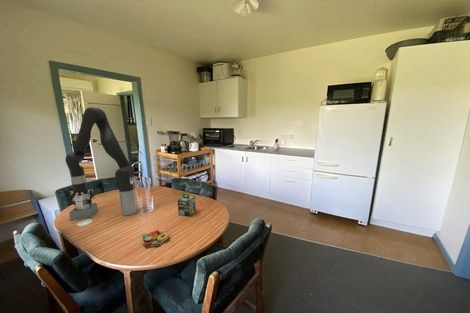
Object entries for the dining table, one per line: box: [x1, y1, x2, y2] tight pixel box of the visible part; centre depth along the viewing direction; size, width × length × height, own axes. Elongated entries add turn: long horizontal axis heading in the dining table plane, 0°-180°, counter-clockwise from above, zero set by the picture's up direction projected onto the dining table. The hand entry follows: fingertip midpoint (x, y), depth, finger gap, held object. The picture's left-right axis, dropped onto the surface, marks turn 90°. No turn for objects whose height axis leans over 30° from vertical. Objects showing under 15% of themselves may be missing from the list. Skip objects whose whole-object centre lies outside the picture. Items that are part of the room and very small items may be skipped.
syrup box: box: [73, 193, 91, 210], centre depth 132 cm, size 6×6×14 cm
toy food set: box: [141, 229, 171, 247], centre depth 106 cm, size 13×13×3 cm
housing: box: [68, 201, 99, 221], centre depth 133 cm, size 11×11×6 cm
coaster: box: [76, 218, 94, 228], centre depth 123 cm, size 8×8×1 cm
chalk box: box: [177, 193, 197, 217], centre depth 135 cm, size 9×9×15 cm
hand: (83, 204), depth 132 cm, fingers closed on syrup box, 7 cm apart
